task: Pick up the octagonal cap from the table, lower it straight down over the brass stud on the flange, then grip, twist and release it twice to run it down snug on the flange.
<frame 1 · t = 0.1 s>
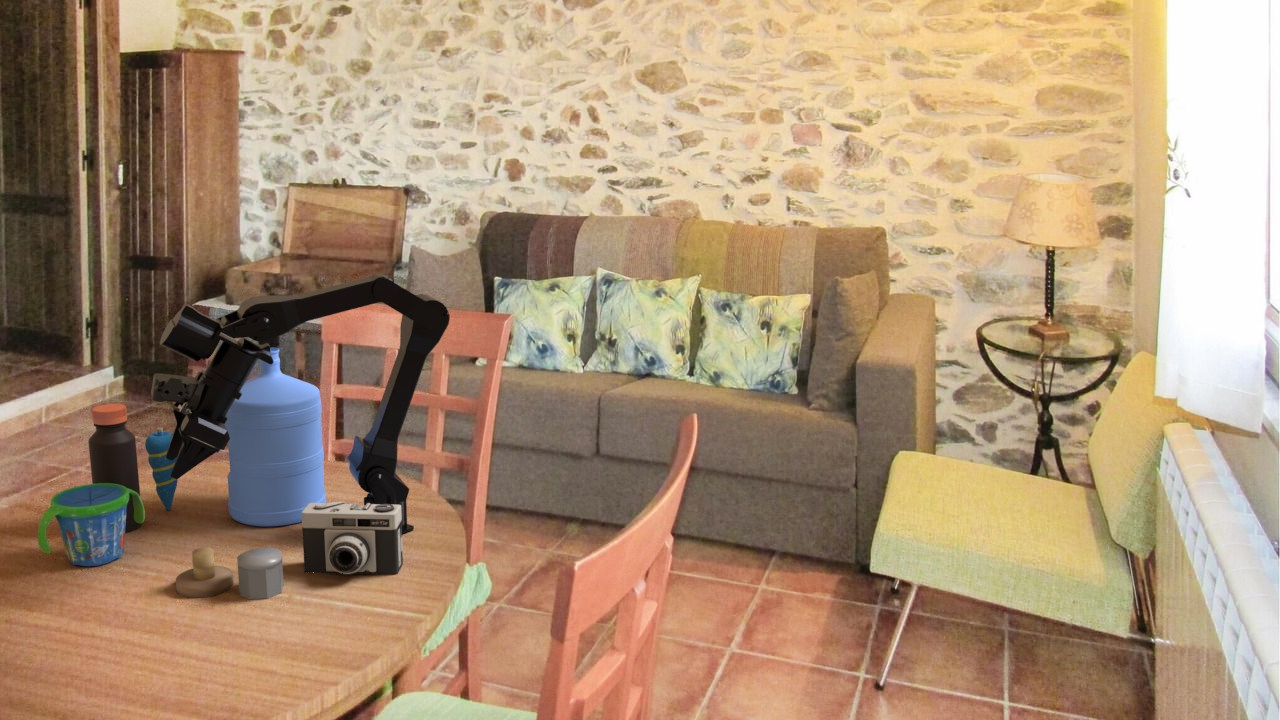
hand: (171, 468, 163), 15 cm above the table, tool tilted 30°, fingers open, 9 cm apart
ornament: (167, 511, 187), on the table
water jug: (278, 512, 188), on the table
snack cup: (96, 559, 168), on the table
cap: (261, 590, 158), on the table
stub: (205, 586, 159), on the table
camera: (350, 574, 164), on the table
bottle: (120, 528, 180), on the table
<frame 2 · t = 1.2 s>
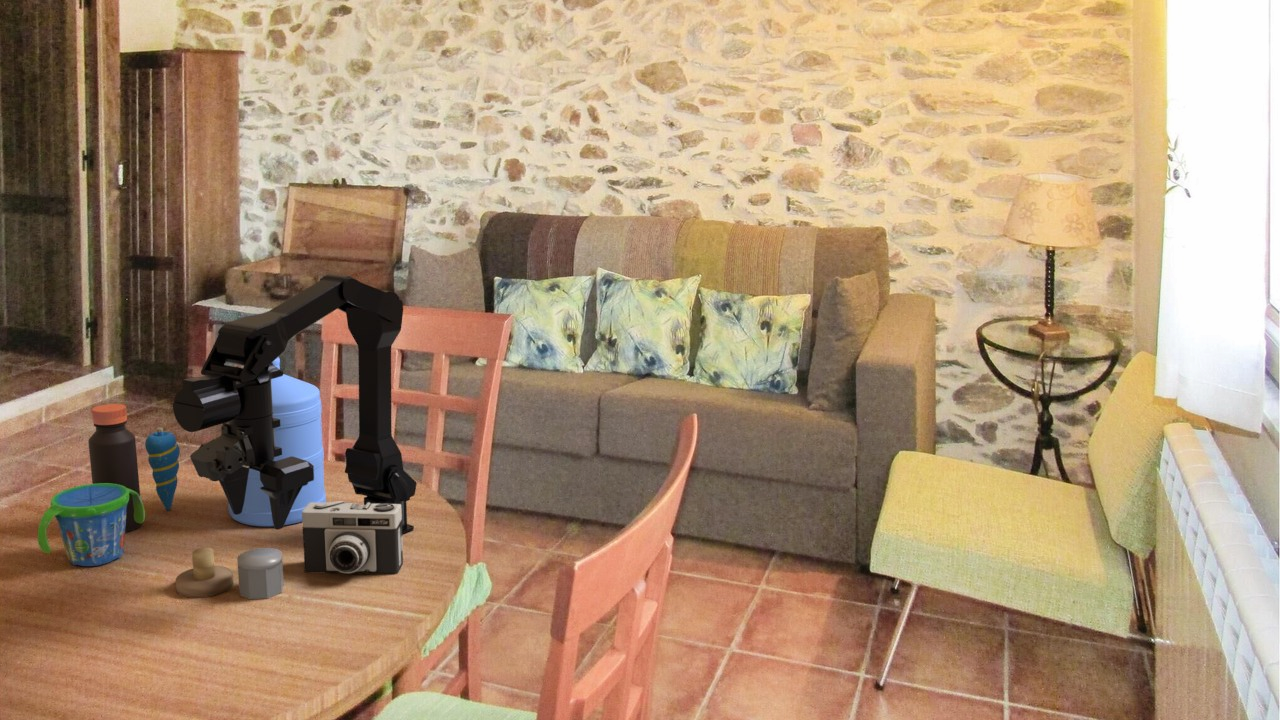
hand: (257, 521, 155), 10 cm above the table, tool pointing down, fingers open, 9 cm apart
nothing on the table moved.
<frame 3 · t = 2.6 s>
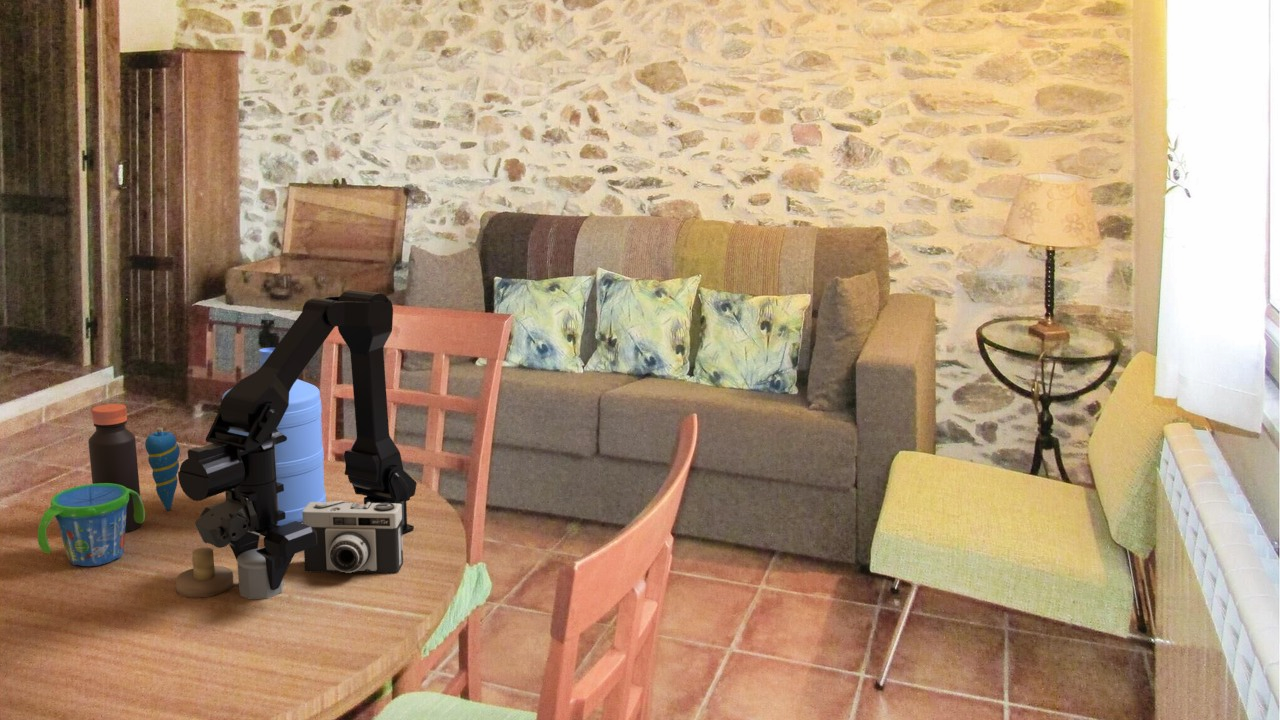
hand: (261, 583, 157), 1 cm above the table, tool pointing down, fingers closed on cap, 6 cm apart
cap: (261, 590, 158), on the table, touching gripper
everything else where it was.
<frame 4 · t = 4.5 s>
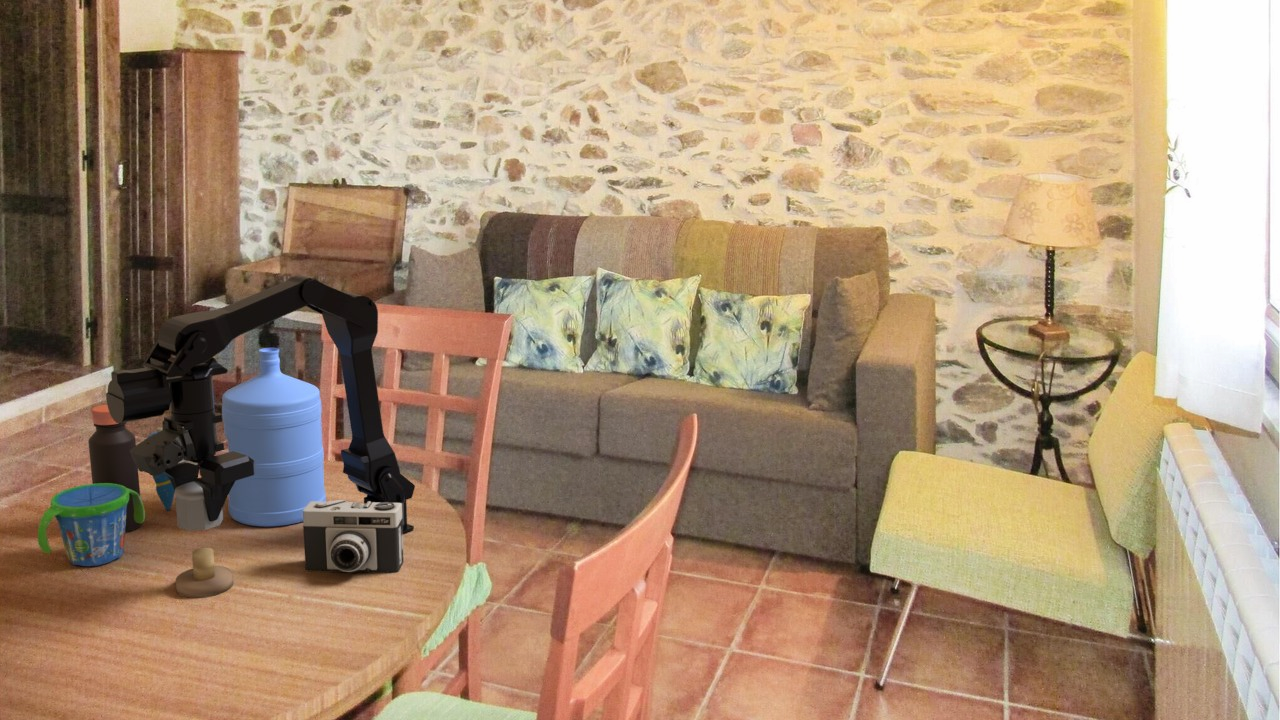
hand: (200, 515, 156), 11 cm above the table, tool pointing down, fingers closed on cap, 6 cm apart
cap: (200, 522, 156), point 10 cm above the table, touching gripper
when the fingers open (3 cm above the table, at t = 6.5 s): cap stays where it is, resting on stub.
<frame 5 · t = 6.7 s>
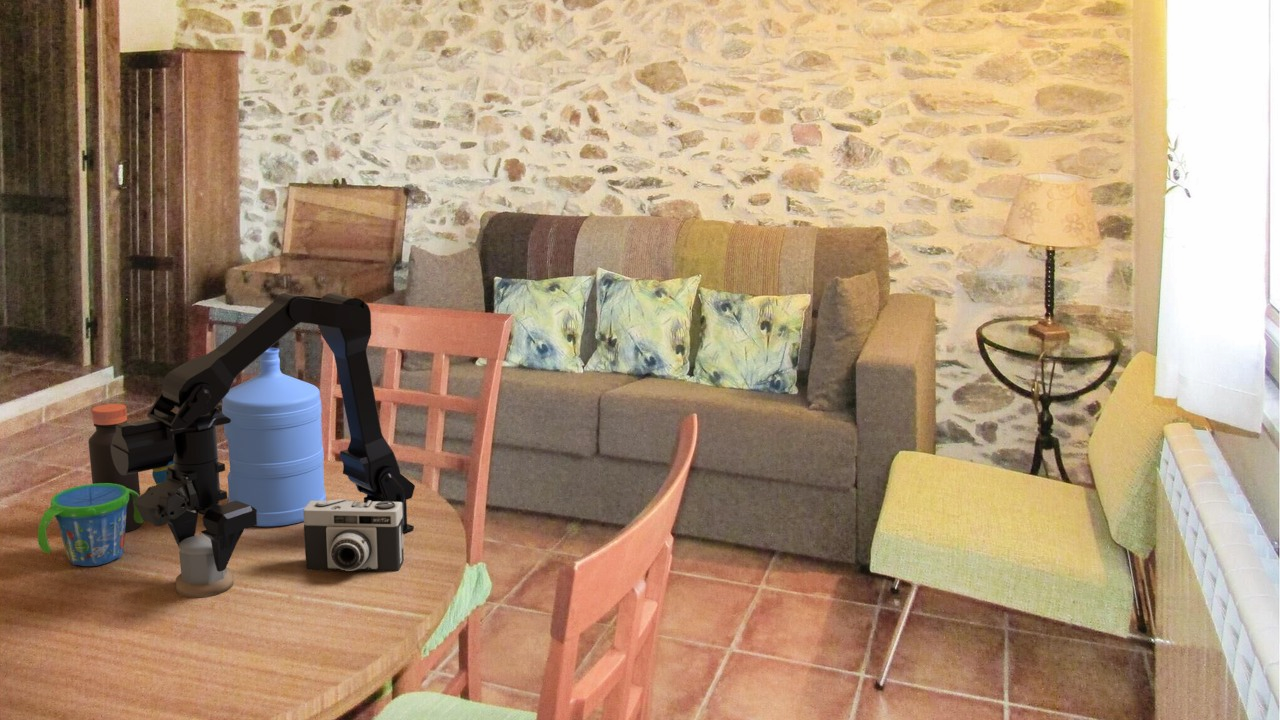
hand: (203, 563, 158), 3 cm above the table, tool pointing down, fingers open, 8 cm apart
cap: (204, 576, 158), point 1 cm above the table, touching stub
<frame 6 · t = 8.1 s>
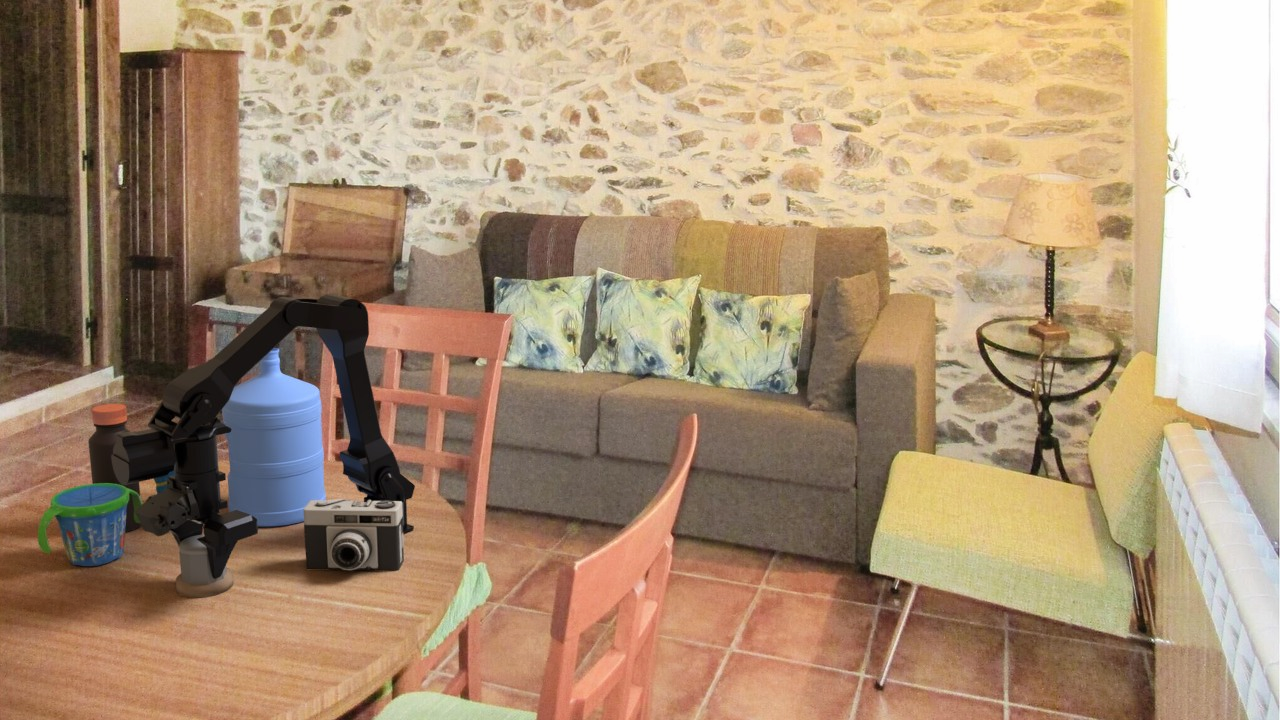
hand: (204, 572, 158), 2 cm above the table, tool pointing down, fingers closed on cap, 6 cm apart
cap: (204, 576, 158), point 1 cm above the table, touching gripper, stub
when the fingers open (3 cm above the table, at t = 9.4 s): cap drops 1 cm, resting on stub.
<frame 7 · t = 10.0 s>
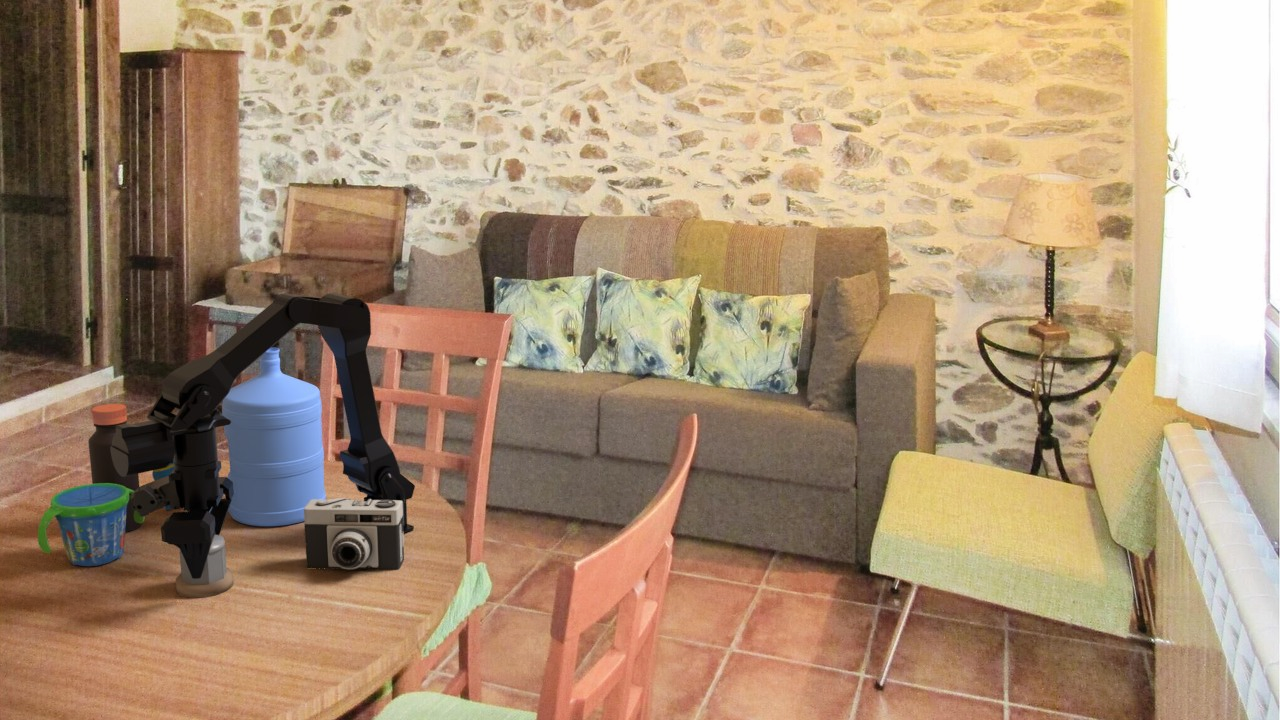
hand: (203, 564, 158), 3 cm above the table, tool pointing down, fingers open, 9 cm apart
cap: (204, 576, 158), point 1 cm above the table, touching stub
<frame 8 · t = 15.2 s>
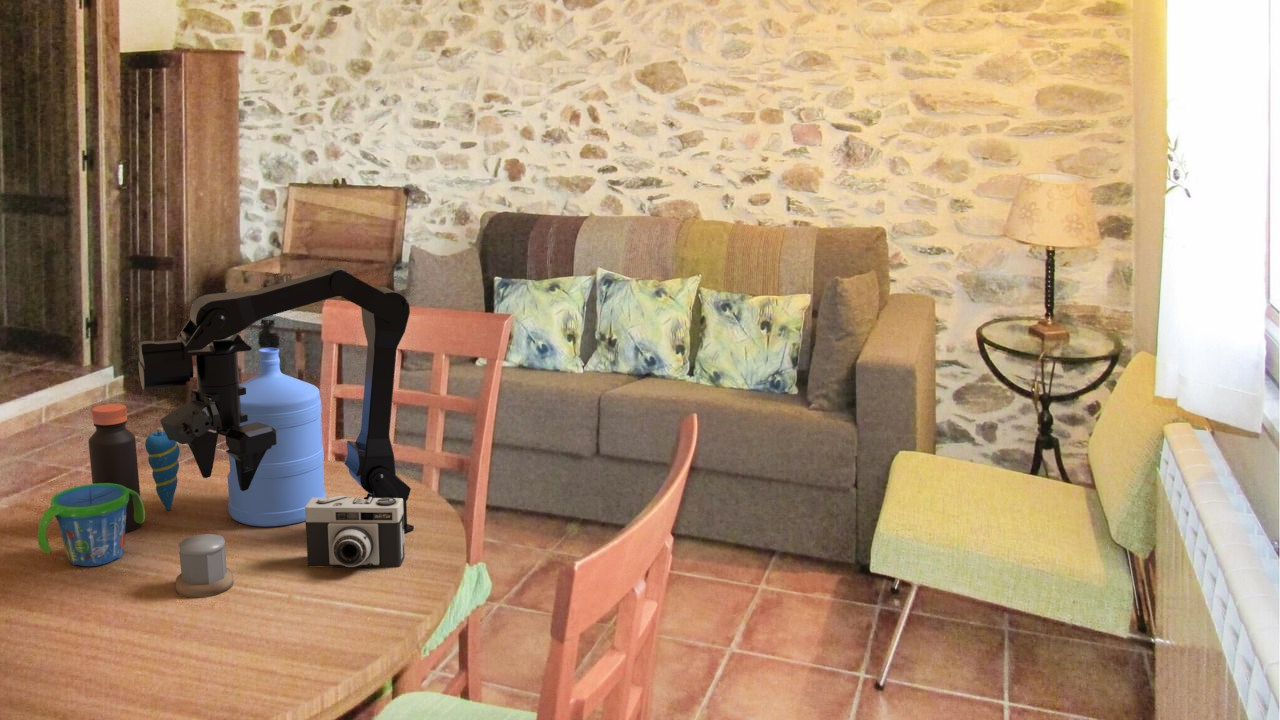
hand: (225, 483, 165), 12 cm above the table, tool pointing down, fingers open, 9 cm apart
at the end: cap 0.0 cm off-centre on the stub, point 1.5 cm above the stub's base; cap tilted 0°; the gripper is holding nothing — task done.
